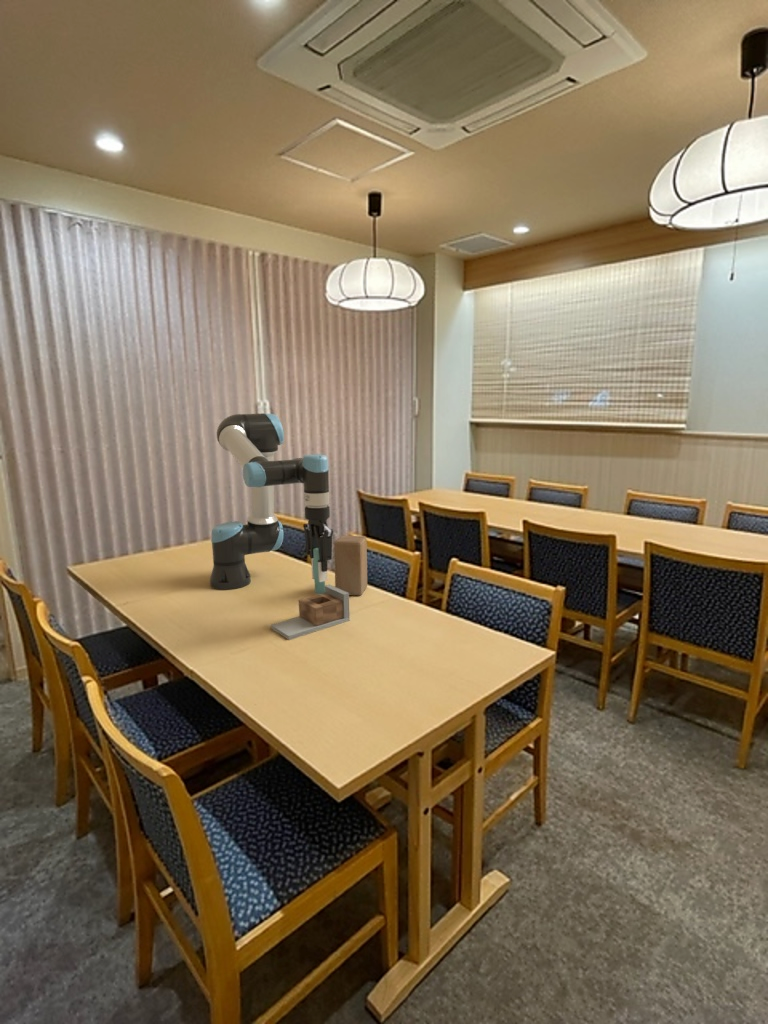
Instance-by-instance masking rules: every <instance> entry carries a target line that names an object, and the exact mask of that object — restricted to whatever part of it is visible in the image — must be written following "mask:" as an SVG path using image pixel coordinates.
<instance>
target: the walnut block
mask: <svg viewBox="0 0 768 1024" xmlns="http://www.w3.org/2000/svg"><path fill="white" fill-rule="evenodd" d="M299 616H300V617H302V618H304V619H305V620H307V621H309V622H311V623H313V624H314V625H316V626H317V625H320V624H323V623H327V622H330V621H333V620H336V619H340V618H343V601H342V600H340V599H338V598H336V597H333V596H331V595H329V594H327V593H323V594H315V595H311V596H307V597H304V598H301V599H298V617H299Z"/></svg>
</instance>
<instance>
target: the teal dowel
mask: <svg viewBox="0 0 768 1024" xmlns="http://www.w3.org/2000/svg"><path fill="white" fill-rule="evenodd" d="M313 553H314V579H313V580H314V593H315V595H318V594H323V593H325V586H326V581H323V582H319V572H318V560H320V558H319V550H318V548H315V549H313Z"/></svg>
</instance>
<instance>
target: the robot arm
mask: <svg viewBox="0 0 768 1024" xmlns="http://www.w3.org/2000/svg"><path fill="white" fill-rule="evenodd" d="M284 434H285V433H284V428H283V424H282V422H281V420H280V418H279V417H278V416H277V415H276V414H274V413H242V414H241V413H236V414H232V415H230V416H227V417H226V418H224V419H223V420H222V421H221V422H220V423H219V424H218V427H217V428H216V439H217V442H218V443H219V446H221V448H222V449H224V450H225V451H227V452H230V454H231V455H232V456H233V457H234V459H235V460H236V461H237V462H238V464H239V465H240V466H241V467H242V478H243V481H244V484H245V486H247V487H248V488H250V503H251V504H250V510H251V511H250V512H251V513H250V515H249V516H248V517H247V521H246V522H247V524H243V522H241V521H239V520H238V521H236V520H235V521H228V522H224V523H223V522H222V523H220V524H218V525H216V526H214V527H213V528H212V530H211V541H210V542H211V546H212V547H211V548H212V559H213V560H212V561H213V567H212V571H211V574H210V577H209V585H210V587H211V588H213V589H216V590H234V589H235V590H236V589H239V588H244V587H246V586H248V585H249V584H251V581H252V580H251V579H252V578H251V573H250V572H249V569H248V567H247V564H246V558H245V556H248V555H254V554H259V553H260V554H261V553H269V552H271V551H277V550H278V549H280V547H281V546H282V543H283V541H284V530H283V524H282V522H281V521H279V518H278V516H276V515H275V509H274V508H275V496H274V495H275V490H274V489H275V486H283V485H295V484H303V494H304V496H303V499H304V505H305V507H304V518H305V519H306V520H307V521H308V522H307V523H303V524H302V526H303V530H304V537H305V538H304V539H305V550H306V552H305V553H306V555H307V556H309V558H310V561H311V562H310V565H311V579H312V580H315V579H314V553H313V549H315V548H318V550H319V558H320V560H318V572H319V582H323V581H325V582H326V581H328V561H331V560H332V557H333V535H334V529H333V528H331V529H330V528H329V527H328V521H327V520H328V519H329V518H330V515H331V514H330V513H331V512H330V506H329V504H330V485H329V482H330V481H329V480H330V479H329V477H330V476H329V475H330V474H329V470H330V466H329V462H328V461H329V460H328V459H329V458H328V456H327V455H325V454H319V453H317V454H305V455H304V456H303V457H295V458H292V459H285V460H284V459H283V460H275V454H276V453H277V452H278V451H279V446H280V445H282V444H284V439H285V435H284Z"/></svg>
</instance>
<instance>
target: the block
mask: <svg viewBox="0 0 768 1024" xmlns="http://www.w3.org/2000/svg"><path fill="white" fill-rule="evenodd" d="M367 539H368V538H367V536H365V535H343V534H342V535H340V537H338V538H337V539H336V540H335V541H334V542H333V549H334V550H333V551H334V585H335V586H334V587H336V588H338V589H341V590H343V591H345V592H348V593H349V596H362V595H363V593H364V592H365V591H366V589H367V588H368V553H367V552H368V551H367V550H368V544H367V543H368V542H367V541H368V540H367Z"/></svg>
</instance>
